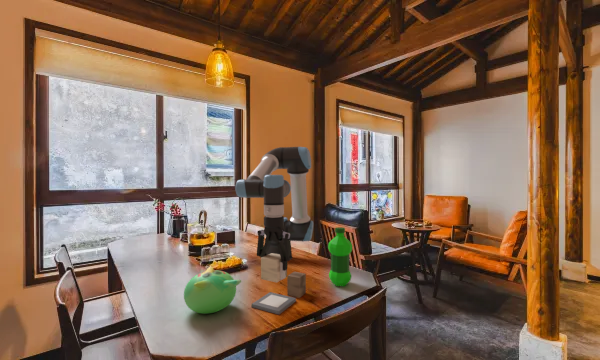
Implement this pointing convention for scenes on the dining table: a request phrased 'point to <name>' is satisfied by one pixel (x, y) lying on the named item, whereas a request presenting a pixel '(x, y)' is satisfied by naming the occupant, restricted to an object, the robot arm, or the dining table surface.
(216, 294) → the round green bird figurine
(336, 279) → the plastic bottle
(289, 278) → the walnut block
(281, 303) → the slate pad
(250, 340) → the dining table surface
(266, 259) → the maple block
